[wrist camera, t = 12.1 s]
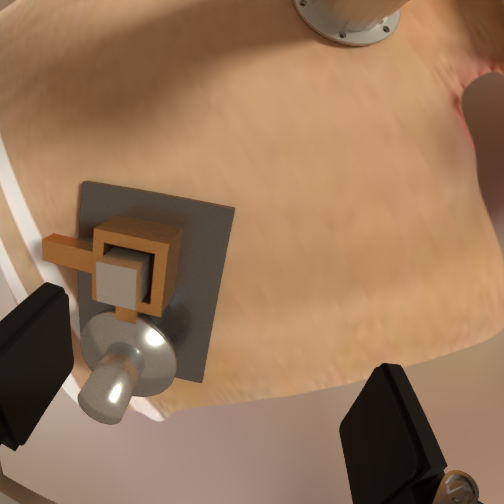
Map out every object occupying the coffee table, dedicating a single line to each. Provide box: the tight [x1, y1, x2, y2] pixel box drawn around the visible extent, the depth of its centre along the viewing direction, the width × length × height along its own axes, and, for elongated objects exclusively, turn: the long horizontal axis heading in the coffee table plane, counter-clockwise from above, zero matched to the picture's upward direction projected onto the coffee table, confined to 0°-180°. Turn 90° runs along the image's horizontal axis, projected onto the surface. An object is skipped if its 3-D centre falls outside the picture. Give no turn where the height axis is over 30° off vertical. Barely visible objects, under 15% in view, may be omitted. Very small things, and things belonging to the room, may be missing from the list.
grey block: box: [96, 245, 155, 310], centre depth 31 cm, size 4×4×9 cm
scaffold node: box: [42, 181, 235, 425], centre depth 31 cm, size 24×20×15 cm
